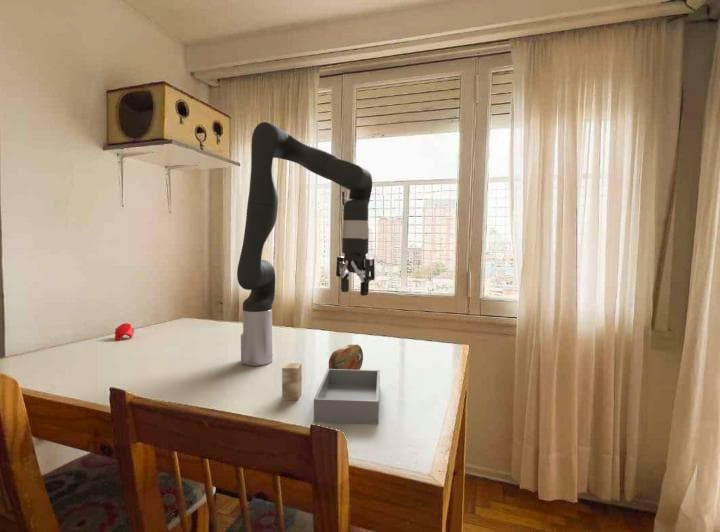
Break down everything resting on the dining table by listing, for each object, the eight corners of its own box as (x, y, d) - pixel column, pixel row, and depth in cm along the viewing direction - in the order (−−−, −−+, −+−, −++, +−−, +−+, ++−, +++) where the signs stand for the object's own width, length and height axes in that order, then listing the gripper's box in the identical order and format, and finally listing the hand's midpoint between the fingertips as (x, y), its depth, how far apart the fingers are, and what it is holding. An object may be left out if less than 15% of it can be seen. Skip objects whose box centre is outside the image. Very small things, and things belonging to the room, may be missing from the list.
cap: (123, 328, 157) (112, 323, 152) (136, 323, 156) (124, 318, 151) (121, 346, 153) (109, 341, 148) (134, 341, 152) (122, 337, 147)
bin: (313, 421, 82) (313, 399, 81) (327, 387, 101) (327, 368, 101) (378, 424, 81) (378, 401, 80) (379, 388, 101) (379, 370, 100)
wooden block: (282, 399, 93) (282, 368, 93) (286, 393, 97) (286, 363, 97) (298, 400, 93) (298, 368, 92) (301, 393, 97) (301, 363, 96)
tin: (335, 384, 104) (335, 354, 103) (326, 381, 106) (326, 352, 105) (363, 369, 117) (364, 342, 116) (355, 367, 118) (355, 340, 118)
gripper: (329, 236, 110) (328, 291, 111) (362, 236, 99) (360, 297, 100) (349, 237, 115) (348, 290, 116) (382, 237, 104) (380, 295, 105)
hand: (354, 293), depth 108 cm, fingers open, 8 cm apart
